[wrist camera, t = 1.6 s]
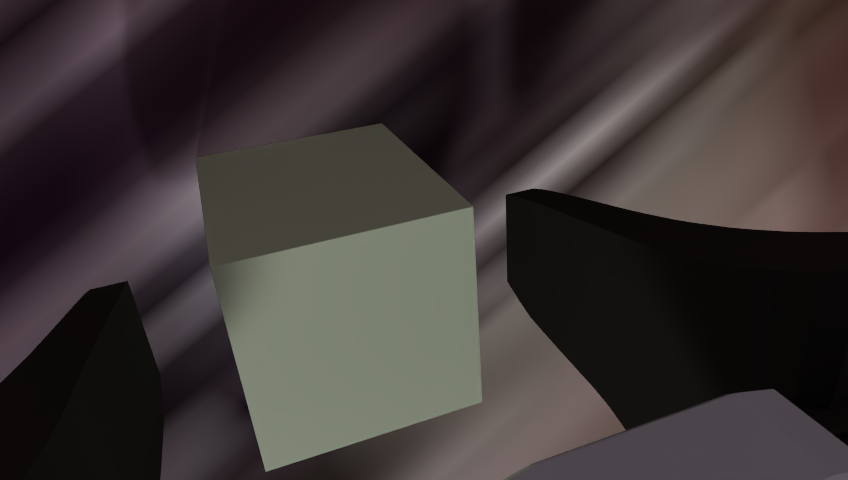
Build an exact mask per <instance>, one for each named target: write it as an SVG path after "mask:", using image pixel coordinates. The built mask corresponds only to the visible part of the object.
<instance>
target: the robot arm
mask: <svg viewBox="0 0 848 480" xmlns="http://www.w3.org/2000/svg"><path fill="white" fill-rule="evenodd" d="M506 229H507V281H508V283H509V285H510V286H511V288H512V289H513V291H514V293H515V294H516V296H517V298H518V299H519V301H520V302H521V304H522V305H523V307H524V308H525V310H526V311H527V313H528V314H529V316H530V317H531V318H532V319H533V321H534V322H535V323H536V324H537V325H538V326H539V327H540V329H541V330H542V331H543V332H544V333H545V334H546V335H547V336H548V338H549V339H550V340H551V341H552V342H553V343H554V344H555V345H556V347H557V348H558V349H559V350H560V351H561V352H562V353H563V354H564V355H565V356H566V358H567V359H568V360H569V361H570V362H571V363H572V364H573V365H574V366H575V368H576V369H577V370H578V371H579V372H580V373H581V374H582V375H583V376H584V377H585V379H586V380H587V381H588V382H589V383H590V384H591V385H592V386H593V387H594V389H595V390H596V391H597V392H598V393H599V395H600V396H601V397H602V398H603V399H604V401H605V402H606V403H607V404H608V406H609V407H610V408H611V410H612V411H613V412H614V414H615V415H616V417H617V418H618V419H619V421H620V422H621V424H622V425H623V426H624V428H625V429H626V430H625V431H623V432H620V433H617V434H614V435H611V436H609V437H606V438H603V439H600V440H597V441H595V442H592V443H589V444H586V445H583V446H581V447H578V448H575V449H572V450H569V451H566V452H564V453H561V454H558V455H555V456H552V457H550V458H547V459H544V460H541V461H538V462H536V463H533V464H531V465H529V466H527V467H525V468H524V469H522V470H520V471H518V472H516V473H515V474H513V475H511V476H509V477H508V478H506V479H504V480H848V232H784V231H767V230H751V229H739V228H729V227H721V226H713V225H706V224H698V223H691V222H685V221H679V220H674V219H669V218H664V217H659V216H654V215H649V214H644V213H640V212H636V211H631V210H627V209H623V208H619V207H615V206H611V205H607V204H603V203H599V202H595V201H591V200H587V199H583V198H579V197H575V196H571V195H567V194H563V193H558V192H553V191H548V190H542V189H529V190H525V191H521V192H516V193H512V194H507V195H506ZM163 429H164V417H163V403H162V391H161V380H160V373H159V370H158V367H157V365H156V362H155V359H154V356H153V353H152V350H151V347H150V344H149V342H148V339H147V336H146V333H145V330H144V327H143V324H142V321H141V319H140V316H139V313H138V310H137V307H136V304H135V301H134V298H133V296H132V293H131V290H130V287H129V284H128V281H126V282H121V283H117V284H113V285H108V286H104V287H100V288H95V289H91V290H89V291H88V292H87V293H85V294H84V295H83V296H82V297H81V299H80V300H79V301H78V302H77V303H76V304H75V305H74V306H73V307H72V308H71V309H70V311H69V312H68V313H67V314H66V315H65V316H64V317H63V318H62V320H61V321H60V322H59V323H58V324H57V325H56V326H55V327H54V329H53V330H52V331H51V332H50V333H49V334H48V335H47V336H46V337H45V338H44V339H43V341H42V342H41V343H40V344H39V345H38V346H37V347H36V348H35V349H34V350H33V351H32V352H31V354H30V355H29V356H28V357H27V358H26V359H25V360H23V361H22V362H21V363H20V364H19V365H18V366H17V367H16V368H15V369H14V370H13V371H12V372H11V373H10V374H9V375H8V376H7V377H6V378H5V379H4V380H3V381H2V382H1V383H0V480H160V475H161V461H162V445H163Z"/></svg>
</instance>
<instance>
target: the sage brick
mask: <svg viewBox="0 0 848 480" xmlns="http://www.w3.org/2000/svg"><path fill="white" fill-rule="evenodd" d="M195 159H196V166H197V174H198V181H199V189H200V196H201V203H202V211H203V218H204V226H205V233H206V240H207V248H208V255H209V262H210V269H211V272H212V276H213V280H214V283H215V287H216V291H217V294H218V298H219V302H220V305H221V309H222V313H223V316H224V320H225V324H226V327H227V331H228V335H229V338H230V342H231V346H232V349H233V353H234V357H235V360H236V364H237V368H238V371H239V375H240V379H241V382H242V386H243V390H244V393H245V397H246V401H247V404H248V408H249V412H250V415H251V419H252V423H253V426H254V430H255V434H256V437H257V441H258V445H259V448H260V452H261V456H262V459H263V463H264V467H265V470H266V472H267V471H270V470H273V469H276V468H279V467H282V466H285V465H288V464H291V463H294V462H298V461H301V460H304V459H307V458H310V457H313V456H316V455H319V454H322V453H325V452H329V451H332V450H335V449H338V448H341V447H344V446H347V445H350V444H353V443H356V442H360V441H363V440H366V439H369V438H372V437H375V436H378V435H381V434H384V433H387V432H390V431H394V430H397V429H400V428H403V427H406V426H409V425H412V424H415V423H418V422H421V421H425V420H428V419H431V418H434V417H437V416H440V415H443V414H446V413H449V412H452V411H456V410H459V409H462V408H465V407H468V406H471V405H474V404H477V403H480V402H482V387H481V366H480V345H479V323H478V302H477V281H476V259H475V238H474V217H473V206H472V205H471V204H470V203H468V202H467V201H466V200H465V199H464V198H463V197H462V196H461V195H460V194H459V193H458V192H456V191H455V190H454V189H453V188H452V187H451V186H450V185H449V184H448V183H447V182H446V181H444V180H443V179H442V178H441V177H440V176H439V175H438V174H437V173H436V172H435V171H433V170H432V169H431V168H430V167H429V166H428V165H427V164H426V163H425V162H424V161H423V160H421V159H420V158H419V157H418V156H417V155H416V154H415V153H414V152H413V151H412V150H411V149H409V148H408V147H407V146H406V145H405V144H404V143H403V142H402V141H401V140H400V139H398V138H397V137H396V136H395V135H394V134H393V133H392V132H391V131H390V130H389V129H388V128H386V127H385V126H384V125H383V124H382V123H380V124H375V125H370V126H364V127H359V128H353V129H348V130H343V131H337V132H332V133H327V134H321V135H316V136H310V137H305V138H300V139H294V140H289V141H283V142H278V143H273V144H267V145H262V146H257V147H251V148H246V149H240V150H235V151H230V152H224V153H219V154H213V155H208V156H203V157H197V158H195Z"/></svg>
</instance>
